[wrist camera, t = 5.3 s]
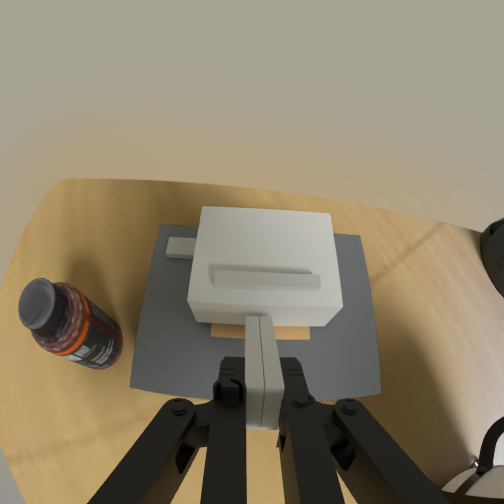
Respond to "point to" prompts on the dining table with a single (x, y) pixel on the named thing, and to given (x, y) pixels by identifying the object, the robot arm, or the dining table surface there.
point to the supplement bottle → (69, 324)
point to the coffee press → (480, 475)
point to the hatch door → (264, 267)
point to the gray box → (233, 336)
